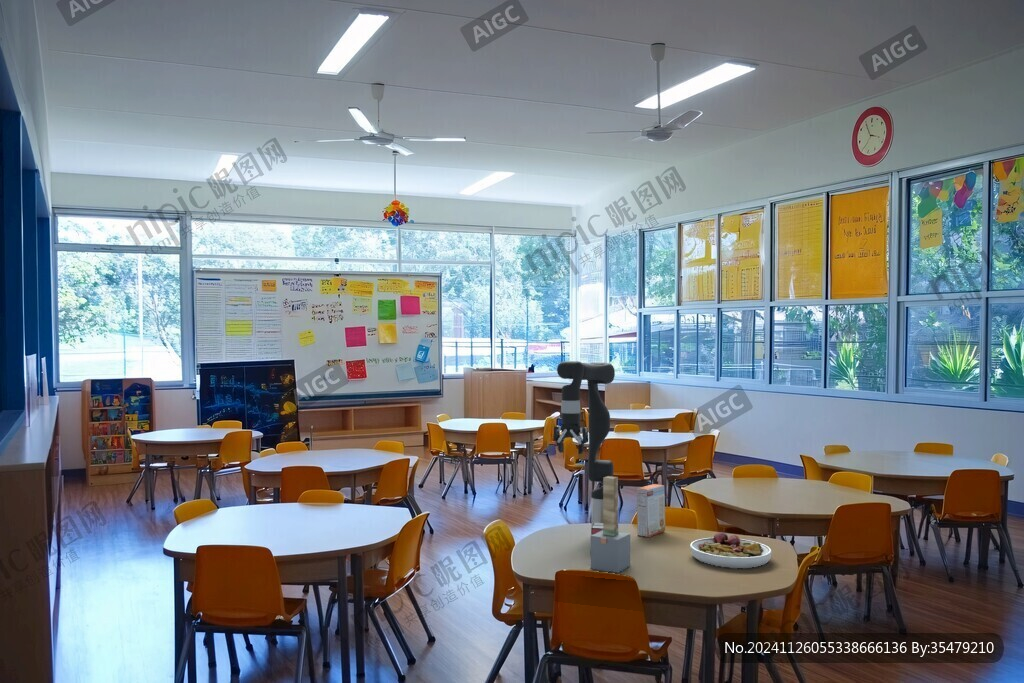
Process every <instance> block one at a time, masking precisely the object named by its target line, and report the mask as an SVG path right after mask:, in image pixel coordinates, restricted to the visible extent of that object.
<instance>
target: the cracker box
mask: <svg viewBox="0 0 1024 683" xmlns="http://www.w3.org/2000/svg"><path fill="white" fill-rule="evenodd" d="M665 495H666V494H665V485H663V484H659V483H658V484H657V483H652V484H649V485H645V486H641V487H637V488H636V509H637V510H636V511H637V512H636V513H637V514H636V518H637V522H636V523H637V525H636V526H637V536H638V535H639V536H638V537H643V536H645V537H644V538H651V537H653V535H654V536H657V535H660V534H662V533H661V532H663V533H665V532H666V514H665V513H666V510H665V509H666V504H665V502H666V501H665V500H666V499H665V498H666V496H665ZM664 531H665V532H664ZM659 533H660V534H659ZM656 534H657V535H656ZM650 536H651V537H650Z"/></svg>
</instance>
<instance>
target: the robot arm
mask: <svg viewBox="0 0 1024 683" xmlns="http://www.w3.org/2000/svg"><path fill="white" fill-rule="evenodd" d="M615 371H616V370H615V367H614V364H613V365H612V363H610V362H601V361H600V362H598V361H597V362H595V361H594V362H593V361H592V362H590V363H589V362H588V363H587V362H581V361H578V360H577V361H576V360H565V361H564V360H563V361H561V362H560V363H558V365H557V368H556V373H557V375H558V377H560V378H561V379H564V380H572V382H571V383H570V384H565V385H563V386H562V388H561V404H560V406H561V407H560V414H561V415H560V420H561V421H560V423H561V426H560V425H555V426H554V427H553V441H554V442H557V449H558V452H559V453H560V454H561V453H564V441H565V440H566V438H567V439H568V438H571V439H575V440H576V442H577V444H578V447H577V448H578V449H577V450H578V452H577V453H578V454H579V455H582V454H583V453H584V451H585V450H584V449H585V447H584V445H585V444H587V443H588V459H587V460H588V461H587V477H588V480H589V481H590V482H596V483H597V482H598V483H603V478H604V477H607V476H611V477H614V472H615V470H614V463H613V462H612V460H609V459H608V460H607V459H597V456H598V455H597V454H598V452H599V449H600V447H601V446H602V444H603V442H604V441H605V439H606V438H607V436H608V435H609V433H610V430H611V415H610V411H609V409H608V407H607V406H606V404H605V403H604V401H603V399H602V397H601V395H600V392H599V385H609V384H611V383H612V382H614V380H615V377H616V376H615V374H616V373H615ZM583 381H587V392H588V427H582V426H581V403H580V402H581V401H580V400H581V399H580V397H581V395H580V394H581V392H580V391H581V386H582V382H583ZM560 431H561V434H560ZM580 432H581V433H580ZM590 496H591V498H590V500H591V503H590V504H591V505H590V506H591V507H590V508H591V509H590V510H591V516H590V517H591V519H590V520H591V521H590V522H591V528H592V526H593V524H594V523H603V486H601V487H598V488H595V489H593V490H591V494H590ZM591 528H590V529H591Z"/></svg>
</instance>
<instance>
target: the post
mask: <svg viewBox="0 0 1024 683" xmlns="http://www.w3.org/2000/svg"><path fill="white" fill-rule="evenodd" d="M618 483H619V477H618V476H613V477H611V476H607V477H604V478H603V482H602V484H603V485H602V487H603V535H604V536H611V537H615V536H617V535H618V532H619V524H618V523H619V494H618V492H619V484H618Z"/></svg>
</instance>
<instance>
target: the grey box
mask: <svg viewBox="0 0 1024 683" xmlns="http://www.w3.org/2000/svg"><path fill="white" fill-rule="evenodd" d="M628 566H629V567H631V533H630V532H620V531H618V535H617V536H615V537H611V536H604V535H603V530H602V531H600V532H598V533H595V534H593V535H591V534H590V569H591V570H592V569H593V570H598V571H603V570H605V571H604V572H609V571H613V572H612V573H614V572H617V573H616V574H619V573H620V571H621V572H622V571H624V570H626V569H628V568H629V567H628ZM627 567H628V568H627ZM625 568H626V569H625Z"/></svg>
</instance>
